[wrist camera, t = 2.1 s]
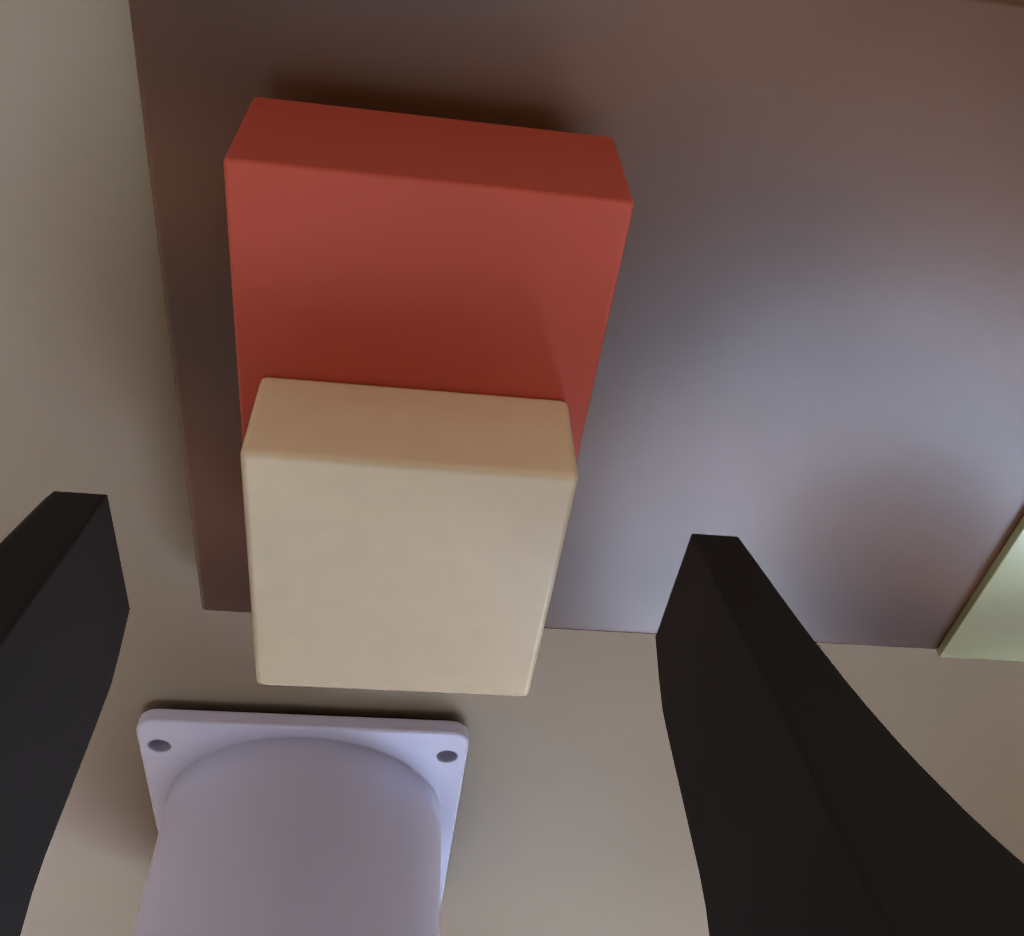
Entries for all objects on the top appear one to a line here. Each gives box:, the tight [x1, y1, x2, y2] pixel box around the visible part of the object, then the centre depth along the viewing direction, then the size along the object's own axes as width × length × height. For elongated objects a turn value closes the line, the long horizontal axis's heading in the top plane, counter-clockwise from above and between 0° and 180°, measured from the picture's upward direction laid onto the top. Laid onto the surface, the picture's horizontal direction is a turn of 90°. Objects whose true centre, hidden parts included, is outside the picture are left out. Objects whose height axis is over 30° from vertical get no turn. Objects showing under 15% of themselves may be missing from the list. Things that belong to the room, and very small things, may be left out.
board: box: [129, 0, 1024, 662], centre depth 17 cm, size 13×22×1 cm, turn 83°
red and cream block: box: [223, 97, 634, 696], centre depth 14 cm, size 9×5×5 cm, turn 173°
